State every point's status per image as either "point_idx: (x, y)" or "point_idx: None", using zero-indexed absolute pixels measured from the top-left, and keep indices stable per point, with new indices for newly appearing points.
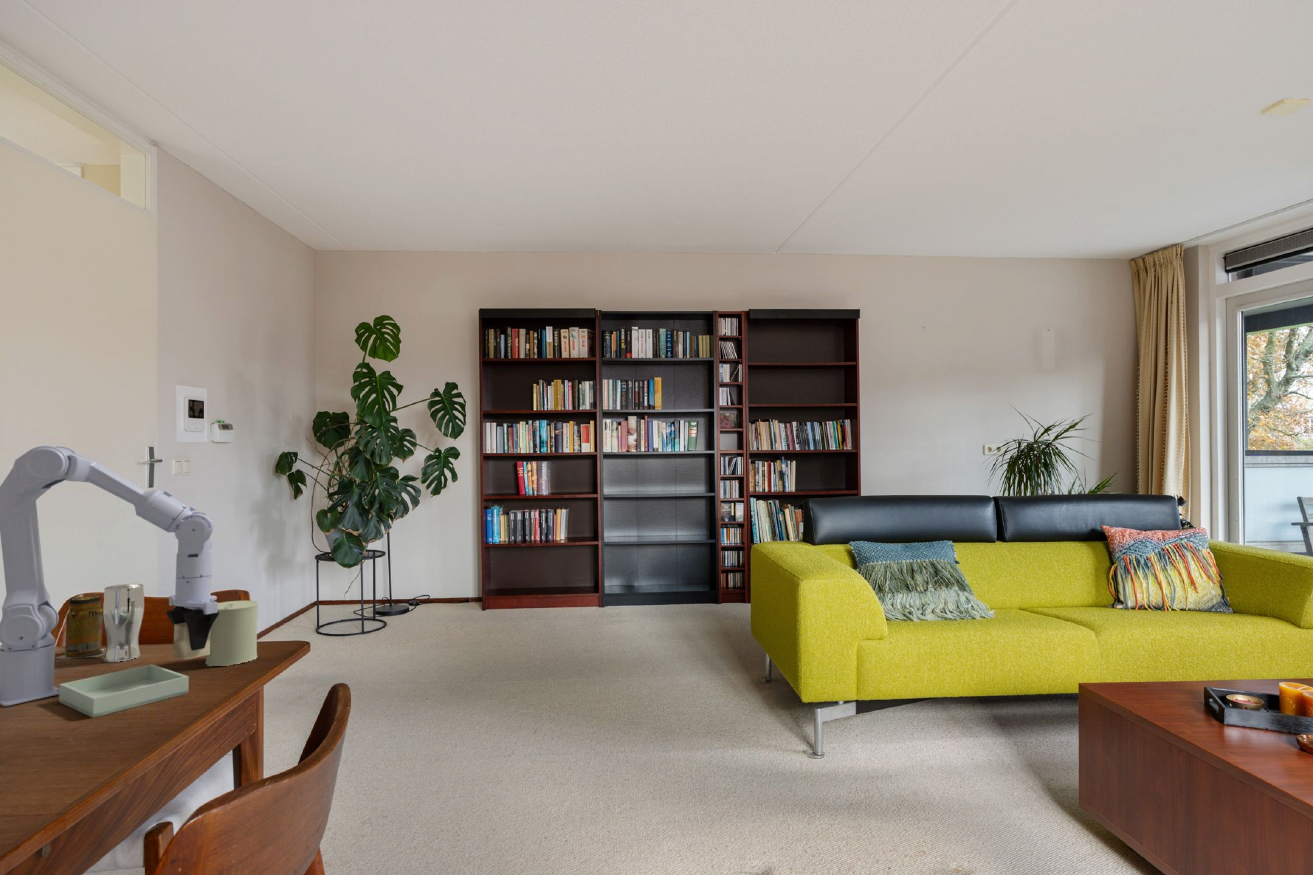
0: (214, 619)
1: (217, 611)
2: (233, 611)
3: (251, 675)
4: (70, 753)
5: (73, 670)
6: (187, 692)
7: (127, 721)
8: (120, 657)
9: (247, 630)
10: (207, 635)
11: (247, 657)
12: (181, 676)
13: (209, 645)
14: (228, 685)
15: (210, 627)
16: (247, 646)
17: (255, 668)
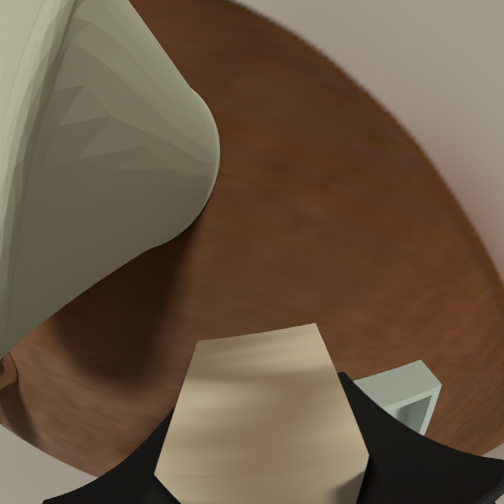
0: (468, 457)
1: (501, 490)
2: (47, 152)
3: (406, 179)
4: (471, 446)
5: (48, 425)
6: (421, 362)
7: (450, 426)
8: (11, 374)
9: (173, 68)
10: (378, 408)
11: (208, 115)
12: (422, 398)
13: (326, 350)
14: (444, 269)
15: (417, 434)
16: (196, 101)
17: (327, 128)
